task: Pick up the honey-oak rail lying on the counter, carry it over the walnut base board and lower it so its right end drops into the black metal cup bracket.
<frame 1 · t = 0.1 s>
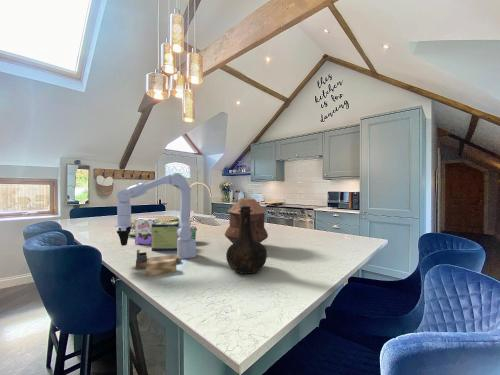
hand: (124, 243, 111), 10 cm above the kitchen island, tool pointing down, fingers open, 7 cm apart
food container: (191, 243, 155), on the kitchen island
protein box: (167, 248, 141), on the kitchen island
walnut base board: (157, 263, 112), on the kitchen island
candy box: (146, 243, 154), on the kitchen island
dark brown ceramic vase: (246, 270, 103), on the kitchen island
oak rail: (161, 272, 101), on the kitchen island
pottery vessel: (246, 248, 139), on the kitchen island
cup bracket: (141, 255, 109), on the walnut base board, point 5 cm above the kitchen island
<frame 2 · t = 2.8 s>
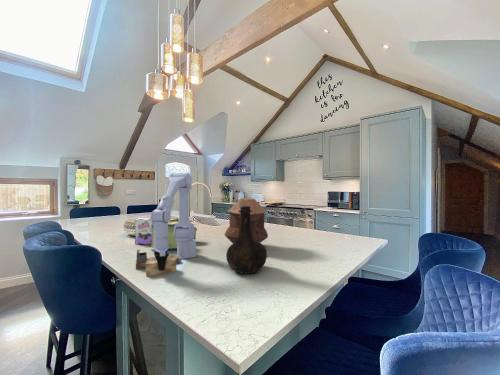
hand: (161, 268, 101), 2 cm above the kitchen island, tool pointing down, fingers closed on oak rail, 3 cm apart
oak rail: (161, 272, 101), on the kitchen island, touching gripper
everything else where it was.
when the fingers open (5 cm above the kitchen island, at t = 8.2 s): oak rail drops 1 cm, resting on walnut base board.
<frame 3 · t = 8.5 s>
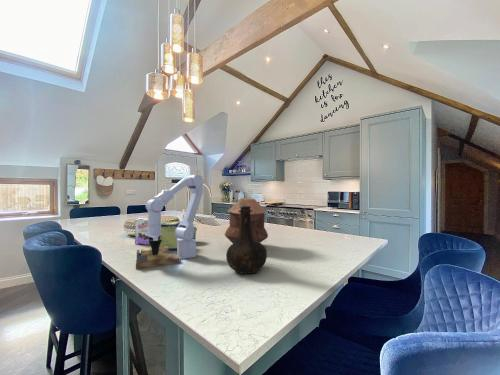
hand: (154, 252, 112), 5 cm above the kitchen island, tool pointing down, fingers open, 6 cm apart
oak rail: (154, 259, 112), point 2 cm above the kitchen island, touching walnut base board
everything else where it was.
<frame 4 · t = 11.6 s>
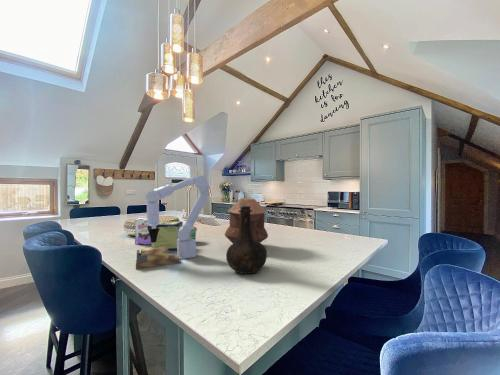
hand: (153, 240, 120), 9 cm above the kitchen island, tool pointing down, fingers open, 7 cm apart
nothing on the kitchen island moved.
at the end: oak rail 0.1 cm from the target spot, point 2.5 cm above the kitchen island; oak rail tilted 0°; the gripper is holding nothing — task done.
